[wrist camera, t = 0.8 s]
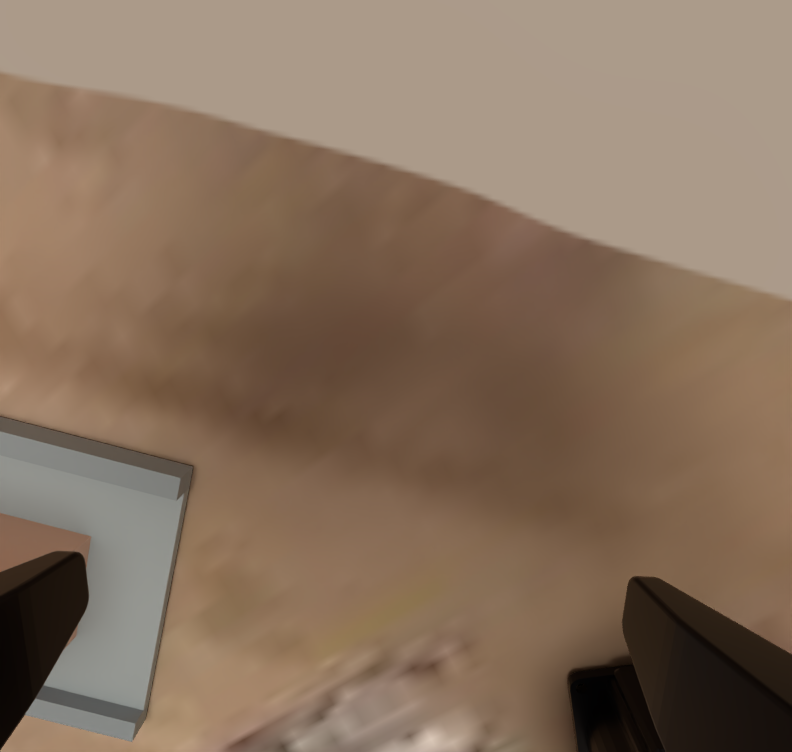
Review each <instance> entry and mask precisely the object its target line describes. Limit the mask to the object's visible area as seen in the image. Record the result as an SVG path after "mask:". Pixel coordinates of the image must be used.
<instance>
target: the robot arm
mask: <svg viewBox="0 0 792 752" xmlns="http://www.w3.org/2000/svg"><path fill="white" fill-rule="evenodd" d="M88 602H89V590H88V581H87V572H86V563H85V558H84V556H83V555H82V554H81V553H80V552H75V551H54V552H51V553H48V554H45V555H43V556H40V557H38V558H35V559H32V560H30V561H27V562H25V563H22V564H20V565H17V566H14V567H12V568H9V569H7V570H4V571H1V572H0V750H1V748H2V747H3V746H4V744H5V743H6V741H7V740H8V738H9V737H10V736H11V734H12V733H13V731H14V730H15V728H16V727H17V725H18V724H19V723H20V721H21V720H22V718H23V717H24V715H25V714H26V712H27V711H28V709H29V708H30V706H31V705H32V703H33V702H34V700H35V698H36V697H37V695H38V693H39V692H40V690H41V688H42V687H43V685H44V683H45V682H46V680H47V678H48V676H49V675H50V673H51V671H52V669H53V668H54V666H55V664H56V662H57V661H58V659H59V657H60V655H61V654H62V652H63V650H64V648H65V647H66V645H67V643H68V641H69V639H70V638H71V636H72V634H73V632H74V631H75V629H76V627H77V625H78V624H79V622H80V620H81V618H82V617H83V615H84V613H85V611H86V609H87V606H88ZM622 628H623V634H624V638H625V641H626V643H627V646H628V649H629V652H630V655H631V658H632V661H633V664H634V665H627V666H619V667H611V668H603V669H595V670H587V671H579V672H575V673H573V674H571V675H570V676H569V678H568V690H569V698H570V705H571V712H572V720H573V727H574V734H575V742H576V749H577V752H792V654H790V653H788V652H787V651H785V650H783V649H781V648H780V647H778V646H776V645H774V644H773V643H771V642H769V641H767V640H766V639H764V638H762V637H760V636H759V635H757V634H755V633H754V632H752V631H750V630H748V629H747V628H745V627H743V626H741V625H740V624H738V623H736V622H734V621H733V620H731V619H729V618H727V617H726V616H724V615H722V614H720V613H719V612H717V611H715V610H713V609H712V608H710V607H708V606H706V605H705V604H703V603H701V602H699V601H698V600H696V599H694V598H693V597H691V596H689V595H687V594H686V593H684V592H682V591H680V590H679V589H677V588H675V587H673V586H672V585H670V584H668V583H666V582H665V581H663V580H661V579H659V578H656V577H642V576H634V577H632V578H631V579H630V580H629V582H628V586H627V592H626V599H625V605H624V612H623V619H622ZM581 683H582V684H583V685H582V686H577V685H578V684H581Z"/></svg>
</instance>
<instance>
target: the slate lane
mask: <svg viewBox="0 0 792 752" xmlns="http://www.w3.org/2000/svg"><path fill="white" fill-rule="evenodd" d="M192 471H193V466H189V465H185V464H181V463H177V462H173V461H170V460H166V459H162V458H158V457H154V456H150V455H147V454H143V453H139V452H135V451H131V450H127V449H123V448H120V447H116V446H112V445H108V444H104V443H100V442H96V441H93V440H89V439H85V438H81V437H77V436H73V435H69V434H66V433H62V432H58V431H54V430H50V429H46V428H43V427H39V426H35V425H31V424H27V423H23V422H19V421H16V420H12V419H8V418H4V417H0V513H2V514H6V515H10V516H14V517H18V518H22V519H26V520H30V521H34V522H38V523H41V524H45V525H49V526H53V527H57V528H61V529H65V530H69V531H73V532H77V533H80V534H84V535H88V536H91V541H90V548H89V554H88V561H87V568H86V572H87V581H88V590H89V602H88V606H87V609H86V611H85V613H84V615H83V617H82V618H81V620H80V622H79V624H78V629H77V635H76V637H75V638H74V639H73V640H72V641H71V642H70V644H69V645H68V646H67V647H66V648H65V649H64V650H63V652H62V654H61V655H60V657H59V659H58V661H57V662H56V664H55V666H54V668H53V669H52V671H51V673H50V675H49V676H48V678H47V680H46V682H45V683H44V685H43V687H42V688H41V690H40V692H39V693H38V695H37V697H36V698H35V700H34V702H33V703H32V705H31V706H30V708H29V709H28V711H27V712H26V714H25V715H27V716H31V717H35V718H39V719H43V720H47V721H51V722H55V723H59V724H63V725H67V726H71V727H75V728H79V729H83V730H87V731H91V732H95V733H99V734H103V735H107V736H111V737H115V738H119V739H123V740H127V741H131V742H132V741H133V739H134V738H135V736H136V734H137V733H138V731H139V729H140V728H141V726H142V724H143V723H144V721H145V719H146V714H147V709H148V704H149V698H150V693H151V688H152V683H153V677H154V672H155V667H156V661H157V656H158V651H159V646H160V640H161V635H162V630H163V624H164V619H165V614H166V608H167V603H168V598H169V593H170V587H171V582H172V577H173V571H174V566H175V561H176V556H177V550H178V545H179V540H180V534H181V529H182V524H183V518H184V513H185V508H186V503H187V497H188V492H189V487H190V481H191V476H192Z"/></svg>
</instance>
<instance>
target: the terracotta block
mask: <svg viewBox="0 0 792 752" xmlns="http://www.w3.org/2000/svg"><path fill="white" fill-rule="evenodd" d="M90 541H91V536H88V535H84V534H80V533H77V532H73V531H69V530H65V529H61V528H57V527H53V526H49V525H45V524H41V523H38V522H34V521H30V520H26V519H22V518H18V517H14V516H10V515H6V514H2V513H0V572H1V571H4V570H7V569H9V568H12V567H14V566H17V565H20V564H22V563H25V562H27V561H30V560H32V559H35V558H38V557H40V556H43V555H45V554H48V553H51V552H54V551H75V552H80V553H81V554H82V555H83V556H84V558H85V563H86V568H87V561H88V554H89V548H90ZM77 629H78V625H77V627H76V629H75V631H74V632H73V634H72V636H71V638H70V639H69V641H68V643H67V645H66V647H67V646H68V645H69V644H70V642H71V641H72V640H73V639H74V638H75V637H76V635H77ZM66 647H65V648H66ZM65 648H64V649H65Z"/></svg>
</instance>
